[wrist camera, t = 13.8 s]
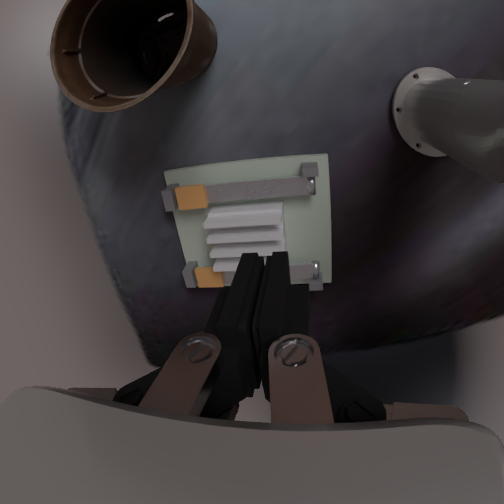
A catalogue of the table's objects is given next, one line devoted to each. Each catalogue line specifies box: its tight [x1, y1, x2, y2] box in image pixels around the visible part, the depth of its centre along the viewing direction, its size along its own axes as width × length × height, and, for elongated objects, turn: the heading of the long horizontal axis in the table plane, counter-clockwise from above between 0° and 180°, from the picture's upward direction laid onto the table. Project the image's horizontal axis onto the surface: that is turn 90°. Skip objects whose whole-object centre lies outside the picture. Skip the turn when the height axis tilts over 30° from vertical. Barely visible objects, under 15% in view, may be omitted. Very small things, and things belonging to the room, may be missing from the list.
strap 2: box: [194, 260, 320, 288], centre depth 47 cm, size 19×3×2 cm, turn 97°
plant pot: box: [50, 0, 217, 112], centre depth 27 cm, size 16×16×16 cm
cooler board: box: [161, 154, 332, 291], centre depth 43 cm, size 23×20×6 cm
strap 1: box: [175, 175, 316, 210], centre depth 40 cm, size 19×3×2 cm, turn 97°
